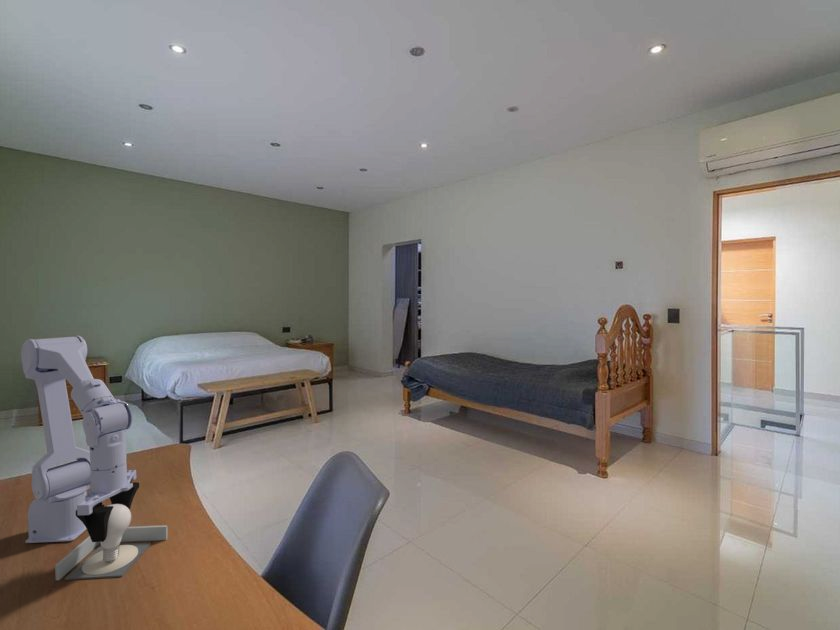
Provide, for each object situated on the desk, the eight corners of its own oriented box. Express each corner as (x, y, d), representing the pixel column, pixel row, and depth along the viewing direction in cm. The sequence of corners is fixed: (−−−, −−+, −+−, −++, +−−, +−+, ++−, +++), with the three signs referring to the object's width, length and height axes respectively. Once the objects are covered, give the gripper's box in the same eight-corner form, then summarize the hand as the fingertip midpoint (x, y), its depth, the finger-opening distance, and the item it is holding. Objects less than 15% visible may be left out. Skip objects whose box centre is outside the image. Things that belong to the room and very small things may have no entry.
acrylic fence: (50, 580, 75) (49, 565, 75) (94, 541, 86) (94, 528, 86) (135, 576, 76) (135, 561, 76) (167, 538, 88) (167, 525, 88)
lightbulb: (111, 571, 76) (112, 513, 77) (81, 568, 77) (83, 511, 77) (138, 552, 83) (139, 499, 83) (110, 550, 83) (111, 497, 84)
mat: (64, 579, 75) (64, 577, 75) (101, 546, 85) (101, 544, 85) (121, 576, 76) (121, 574, 76) (151, 543, 86) (151, 542, 86)
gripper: (105, 481, 73) (107, 552, 73) (150, 449, 87) (151, 509, 88) (63, 482, 72) (66, 554, 73) (115, 450, 86) (117, 511, 87)
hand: (110, 530), depth 80 cm, fingers open, 6 cm apart
